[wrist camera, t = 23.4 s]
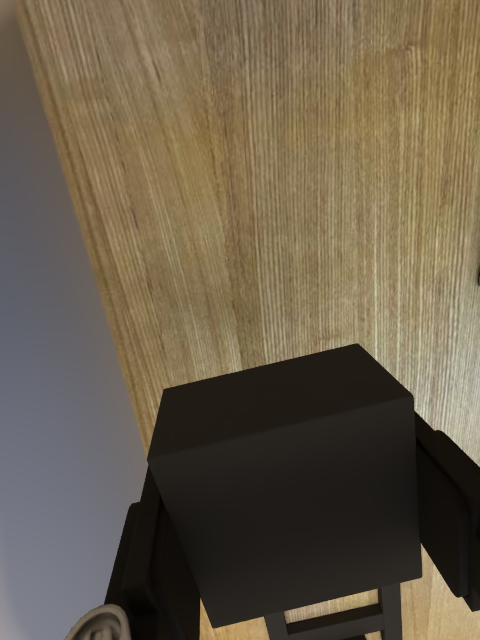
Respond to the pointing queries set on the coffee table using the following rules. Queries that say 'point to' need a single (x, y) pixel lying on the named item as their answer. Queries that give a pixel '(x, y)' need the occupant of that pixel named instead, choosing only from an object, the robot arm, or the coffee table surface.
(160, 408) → the black rectangular block
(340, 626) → the black flat rectangular frame
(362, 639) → the dark brown square block
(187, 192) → the coffee table surface
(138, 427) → the coffee table surface
